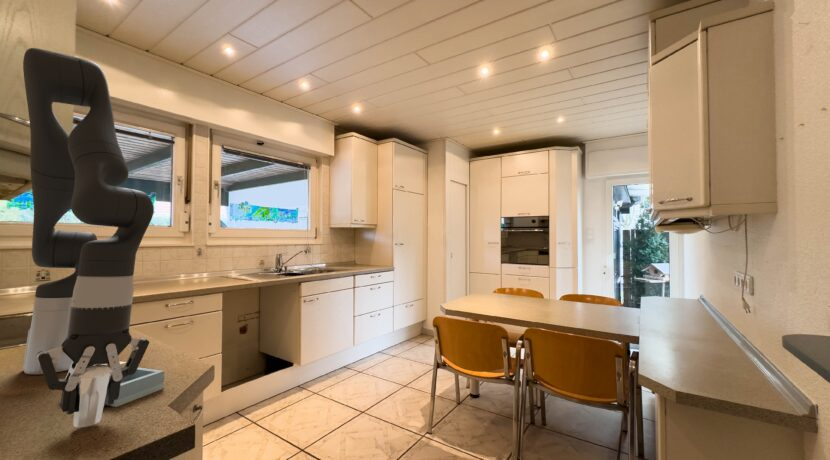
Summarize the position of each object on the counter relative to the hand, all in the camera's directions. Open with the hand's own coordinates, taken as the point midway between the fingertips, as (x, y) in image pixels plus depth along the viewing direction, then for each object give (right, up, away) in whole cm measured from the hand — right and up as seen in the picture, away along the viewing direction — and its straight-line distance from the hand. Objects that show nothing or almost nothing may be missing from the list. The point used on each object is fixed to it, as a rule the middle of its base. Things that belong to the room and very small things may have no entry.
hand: (90, 407), depth 54 cm
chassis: (-7, -4, +13) cm, 15 cm away
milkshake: (0, -2, 0) cm, 2 cm away
